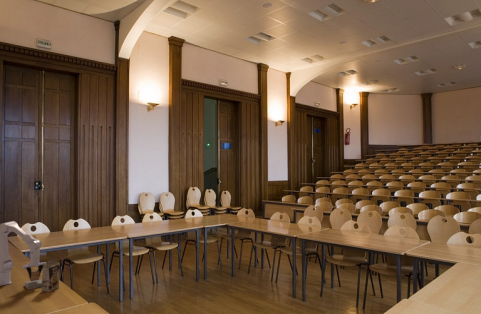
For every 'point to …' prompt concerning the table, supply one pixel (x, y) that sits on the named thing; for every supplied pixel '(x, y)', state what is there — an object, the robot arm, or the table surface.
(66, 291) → the table surface
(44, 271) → the coffee box
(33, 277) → the walnut block
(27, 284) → the grey box
